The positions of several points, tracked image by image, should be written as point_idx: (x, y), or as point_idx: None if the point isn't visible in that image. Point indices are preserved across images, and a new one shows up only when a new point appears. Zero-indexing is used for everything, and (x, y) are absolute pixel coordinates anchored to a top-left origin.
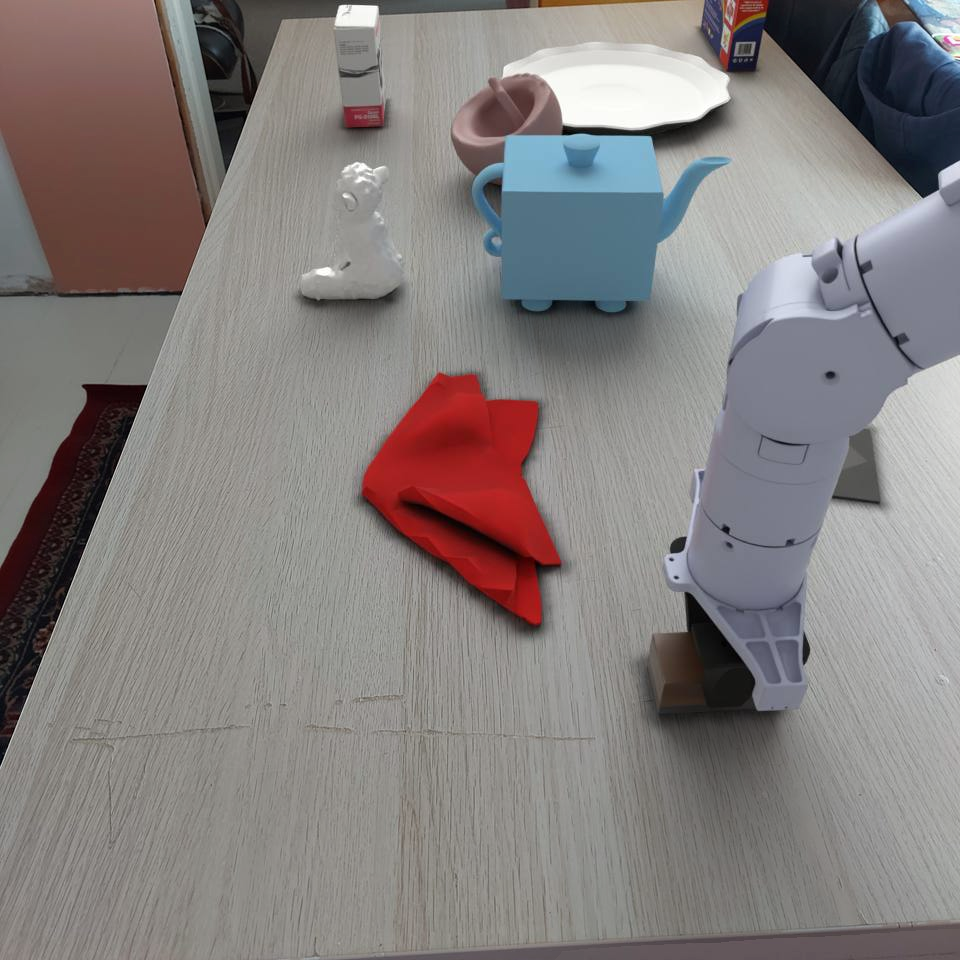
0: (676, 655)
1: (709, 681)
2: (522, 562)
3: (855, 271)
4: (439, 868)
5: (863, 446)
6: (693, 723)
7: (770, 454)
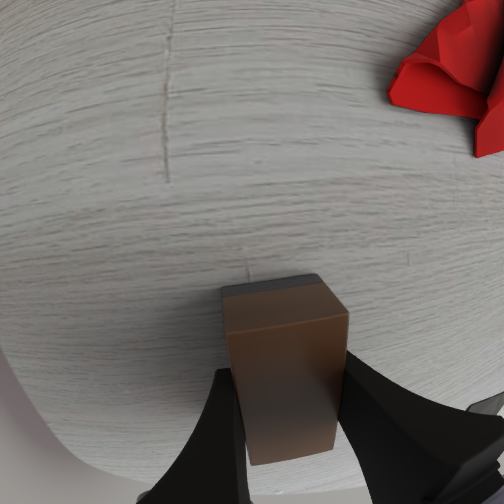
0: (294, 354)
1: (189, 440)
2: (476, 101)
3: None
4: (5, 21)
5: None
6: (211, 333)
7: None
